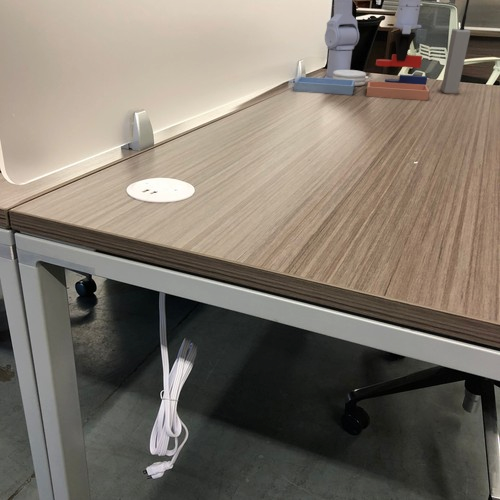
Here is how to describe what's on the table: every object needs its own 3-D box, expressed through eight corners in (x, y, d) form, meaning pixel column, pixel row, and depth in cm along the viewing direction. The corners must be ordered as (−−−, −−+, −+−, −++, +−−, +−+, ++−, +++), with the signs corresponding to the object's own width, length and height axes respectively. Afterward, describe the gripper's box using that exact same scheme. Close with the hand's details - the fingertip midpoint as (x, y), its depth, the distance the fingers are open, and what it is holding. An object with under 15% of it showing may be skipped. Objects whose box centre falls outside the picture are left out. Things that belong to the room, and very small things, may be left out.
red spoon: (375, 66, 141) (377, 54, 140) (375, 64, 145) (377, 52, 144) (420, 68, 139) (422, 56, 138) (419, 66, 143) (421, 55, 142)
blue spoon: (384, 85, 154) (385, 75, 153) (384, 83, 158) (385, 73, 157) (425, 88, 152) (427, 77, 151) (424, 85, 156) (426, 75, 154)
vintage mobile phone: (452, 90, 149) (472, -4, 137) (457, 94, 144) (478, -4, 133) (439, 90, 149) (458, -5, 137) (444, 93, 145) (463, -5, 133)
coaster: (325, 81, 157) (326, 70, 155) (352, 80, 161) (353, 68, 159) (344, 87, 149) (345, 75, 147) (371, 85, 153) (373, 73, 151)
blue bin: (299, 84, 151) (299, 76, 149) (354, 88, 147) (355, 80, 146) (293, 90, 142) (294, 82, 141) (352, 95, 139) (353, 85, 138)
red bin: (367, 89, 147) (368, 81, 146) (425, 93, 144) (426, 84, 143) (366, 96, 138) (367, 86, 137) (427, 100, 135) (429, 91, 134)
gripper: (426, 7, 128) (417, 64, 134) (422, 6, 141) (413, 58, 147) (397, 6, 129) (389, 62, 136) (396, 5, 142) (389, 56, 148)
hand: (400, 60), depth 141 cm, fingers closed on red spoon
